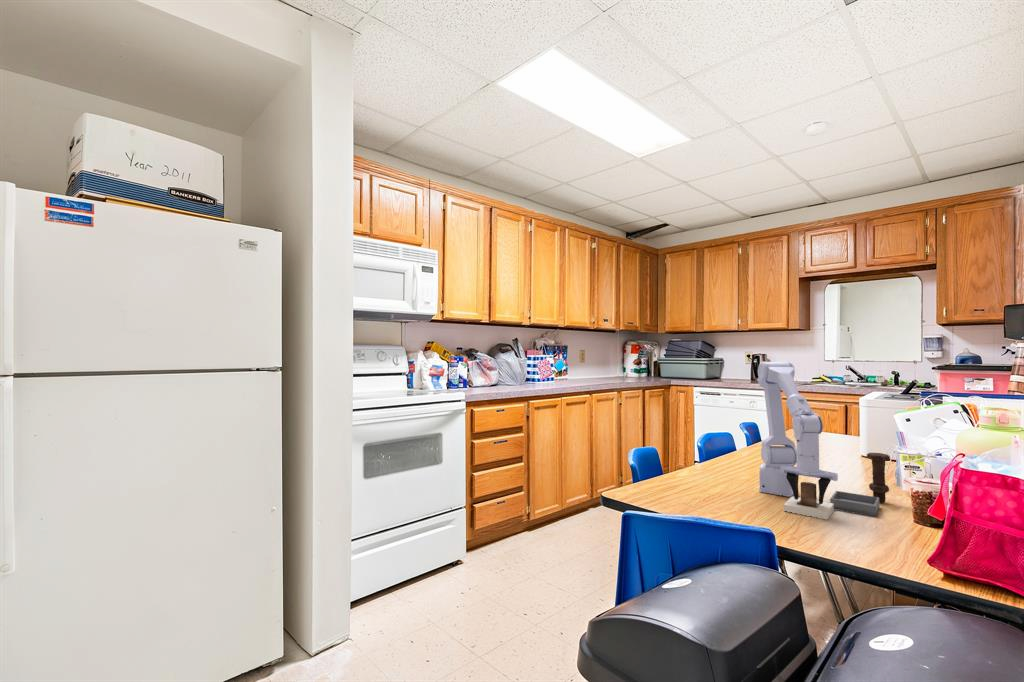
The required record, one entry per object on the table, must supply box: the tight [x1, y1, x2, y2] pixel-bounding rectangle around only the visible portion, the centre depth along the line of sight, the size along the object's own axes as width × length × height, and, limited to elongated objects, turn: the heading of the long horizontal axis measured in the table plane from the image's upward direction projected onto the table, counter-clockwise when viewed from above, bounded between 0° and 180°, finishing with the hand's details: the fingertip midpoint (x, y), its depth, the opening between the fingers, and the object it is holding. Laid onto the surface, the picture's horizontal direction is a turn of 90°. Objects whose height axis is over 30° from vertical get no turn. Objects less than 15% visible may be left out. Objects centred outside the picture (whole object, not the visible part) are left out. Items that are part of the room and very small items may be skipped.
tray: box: [829, 490, 880, 517], centre depth 145 cm, size 11×11×3 cm
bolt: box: [866, 452, 891, 504], centre depth 151 cm, size 6×5×15 cm
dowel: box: [800, 481, 818, 508], centre depth 143 cm, size 4×4×8 cm
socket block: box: [783, 495, 835, 521], centre depth 143 cm, size 11×11×2 cm
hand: (808, 500), depth 143 cm, fingers open, 6 cm apart
